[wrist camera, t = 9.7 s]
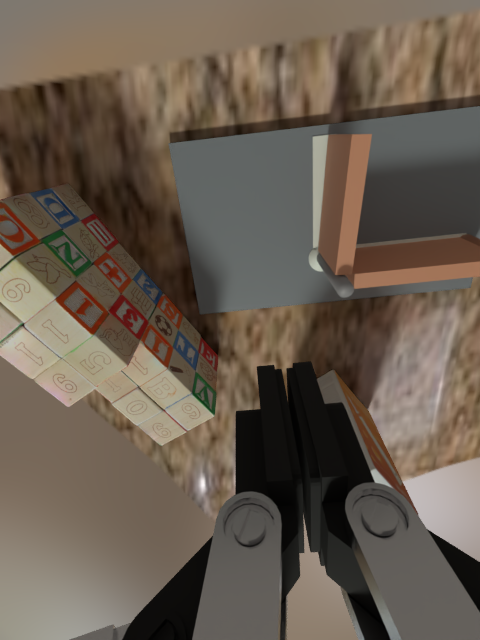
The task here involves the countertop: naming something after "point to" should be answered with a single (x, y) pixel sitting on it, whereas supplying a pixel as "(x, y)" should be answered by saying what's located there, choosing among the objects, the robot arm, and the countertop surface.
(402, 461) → the countertop surface
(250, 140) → the board
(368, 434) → the small box
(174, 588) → the robot arm
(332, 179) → the hinged fence panel
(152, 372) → the stack of blocks
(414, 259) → the fixed fence panel
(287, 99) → the countertop surface
